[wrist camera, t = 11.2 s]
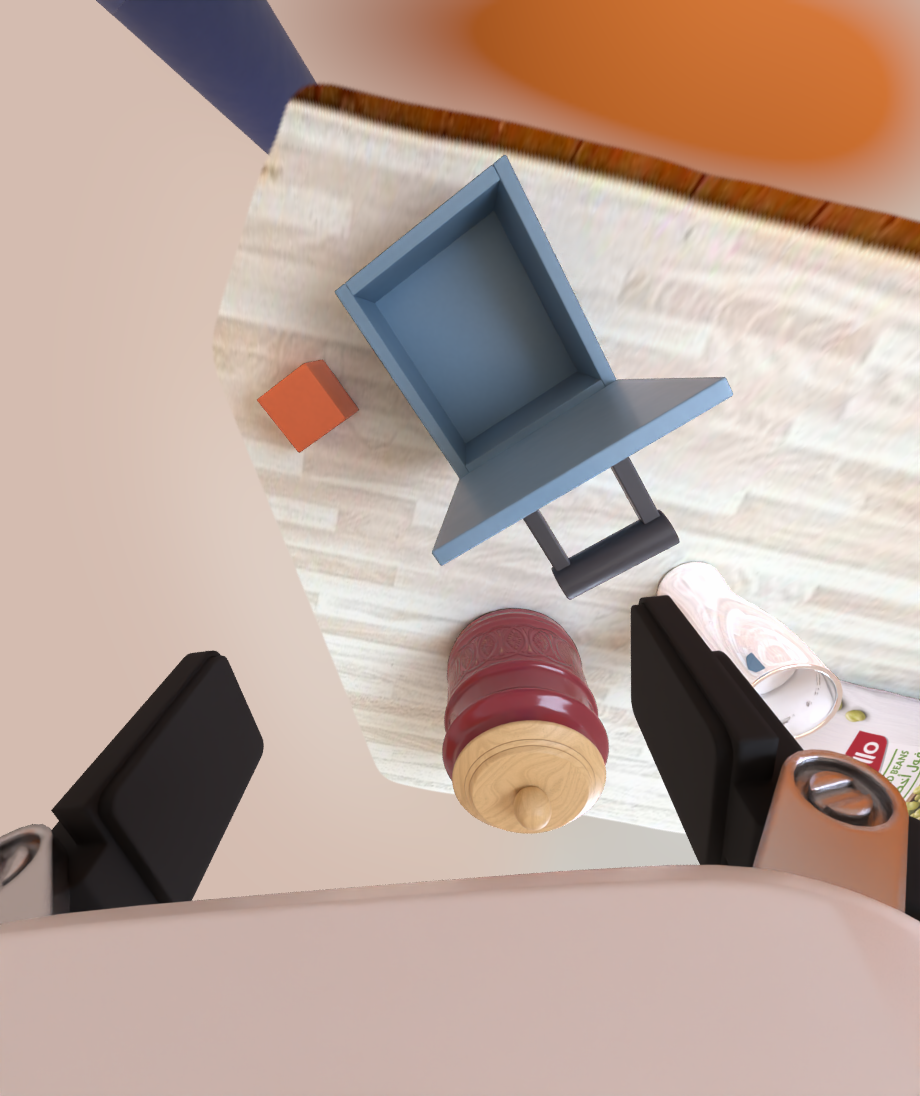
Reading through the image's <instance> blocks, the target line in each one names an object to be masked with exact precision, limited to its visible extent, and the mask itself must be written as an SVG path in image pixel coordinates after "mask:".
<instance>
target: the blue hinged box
mask: <svg viewBox="0 0 920 1096" xmlns="http://www.w3.org/2000/svg"><path fill="white" fill-rule="evenodd" d="M335 294H336V295H337V297H338V298H339V299H340V301H341V302H342V304H343V305H344V307H345V308H346V310H347V311H348V313H349V314H350V316H351V317H352V319H353V320H354V322H355V323H356V325H357V326H358V328H359V329H360V331H361V332H362V334H363V335H364V337H365V338H366V340H367V341H368V343H369V344H370V346H371V347H372V349H373V350H374V352H375V353H376V355H377V356H378V358H379V359H380V361H381V362H382V364H383V365H384V366H385V368H386V369H387V371H388V372H389V374H390V375H391V377H392V378H393V380H394V381H395V383H396V384H397V386H398V387H399V389H400V390H401V392H402V393H403V395H404V396H405V398H406V399H407V401H408V402H409V404H410V405H411V407H412V408H413V410H414V411H415V413H416V414H417V416H418V417H419V419H420V420H421V422H422V423H423V425H424V426H425V428H426V429H427V431H428V432H429V433H430V435H431V436H432V438H433V439H434V441H435V442H436V444H437V445H438V447H439V448H440V450H441V451H442V453H443V454H444V456H445V457H446V459H447V460H448V462H449V463H450V465H451V466H452V468H453V469H454V471H455V472H456V474H457V475H458V477H459V478H462V477H464V476H465V475H467V474H468V473H470V472H471V471H473V470H475V469H476V468H478V467H479V466H481V465H483V464H484V463H486V462H487V461H489V460H490V459H492V458H494V457H495V456H497V455H498V454H500V453H502V452H503V451H505V450H506V449H508V448H509V447H511V446H513V445H514V444H516V443H517V442H519V441H521V440H522V439H524V438H525V437H527V436H528V435H530V434H532V433H533V432H535V431H536V430H538V429H540V428H541V427H543V426H544V425H546V424H547V423H549V422H551V421H552V420H554V419H555V418H557V417H559V416H560V415H562V414H563V413H565V412H566V411H568V410H570V409H571V408H573V407H574V406H576V405H578V404H579V403H581V402H582V401H584V400H585V399H587V398H589V397H590V396H592V395H593V394H595V393H597V392H598V391H600V390H601V389H603V388H605V387H606V386H608V385H609V384H611V383H612V382H614V381H616V378H615V376H614V374H613V372H612V370H611V368H610V366H609V364H608V362H607V360H606V358H605V356H604V353H603V351H602V349H601V347H600V345H599V343H598V341H597V339H596V337H595V335H594V333H593V331H592V329H591V327H590V325H589V323H588V321H587V319H586V317H585V315H584V313H583V311H582V309H581V307H580V305H579V303H578V300H577V298H576V296H575V294H574V292H573V290H572V288H571V286H570V284H569V282H568V280H567V278H566V276H565V274H564V272H563V270H562V268H561V266H560V264H559V262H558V260H557V258H556V256H555V254H554V252H553V250H552V248H551V245H550V243H549V241H548V239H547V237H546V235H545V233H544V231H543V229H542V227H541V225H540V223H539V221H538V219H537V217H536V215H535V213H534V211H533V209H532V207H531V205H530V203H529V201H528V199H527V197H526V195H525V192H524V190H523V188H522V186H521V184H520V182H519V180H518V178H517V176H516V174H515V172H514V170H513V168H512V166H511V164H510V162H509V160H508V158H507V156H506V155H503V156H502V157H501V158H500V159H498V160H497V161H496V162H495V163H494V164H493V165H491V166H490V167H488V168H487V169H486V170H485V171H483V172H482V173H481V174H480V175H478V176H477V177H476V178H475V179H473V180H472V181H471V182H470V183H468V184H467V185H466V186H465V187H464V188H462V189H461V190H460V191H459V192H457V193H456V194H455V195H454V196H452V197H451V198H450V199H449V200H447V201H446V202H445V203H444V204H442V205H441V206H440V207H439V208H437V209H436V210H435V211H434V212H432V213H431V214H430V215H429V216H427V217H426V218H425V219H424V220H423V221H421V222H420V223H419V224H418V225H416V226H415V227H414V228H413V229H411V230H410V231H409V232H408V233H406V234H405V235H404V236H403V237H401V238H400V239H399V240H398V241H396V242H395V243H394V244H393V245H391V246H390V247H389V248H388V249H386V250H385V251H384V252H383V253H382V254H380V255H379V256H378V257H377V258H375V259H374V260H373V261H372V262H370V263H369V264H368V265H367V266H365V267H364V268H363V269H362V270H360V271H359V272H358V273H357V274H355V275H354V276H353V277H352V278H350V279H349V280H348V281H347V282H346V283H345V284H343V285H342V286H341V287H339V288H338V289H337V290H336V291H335Z"/></svg>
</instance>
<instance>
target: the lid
mask: <svg viewBox="0 0 920 1096" xmlns="http://www.w3.org/2000/svg"><path fill="white" fill-rule="evenodd" d="M732 395H733V392H732V390H731V388H730V386H729V383H728V381H727V379H726V378H725V377H706V378H661V379H618V380H616V381H614V382H612V383H611V384H609V385H608V386H606V387H605V388H603V389H601V390H600V391H598V392H597V393H595V394H593V395H592V396H590V397H589V398H587V399H585V400H584V401H582V402H581V403H579V404H578V405H576V406H574V407H573V408H571V409H570V410H568V411H566V412H565V413H563V414H562V415H560V416H559V417H557V418H555V419H554V420H552V421H551V422H549V423H547V424H546V425H544V426H543V427H541V428H540V429H538V430H536V431H535V432H533V433H532V434H530V435H528V436H527V437H525V438H524V439H522V440H521V441H519V442H517V443H516V444H514V445H513V446H511V447H509V448H508V449H506V450H505V451H503V452H502V453H500V454H498V455H497V456H495V457H494V458H492V459H490V460H489V461H487V462H486V463H484V464H483V465H481V466H479V467H478V468H476V469H475V470H473V471H471V472H470V473H468V474H467V475H465V476H464V477H462V478H460V479H459V482H458V484H457V487H456V490H455V492H454V495H453V497H452V500H451V503H450V505H449V508H448V511H447V513H446V516H445V519H444V521H443V524H442V527H441V529H440V532H439V534H438V537H437V540H436V542H435V545H434V548H433V550H432V554H433V555H434V557H435V558H436V560H437V561H438V562H439V564H440V565H441V566H442V565H444V564H446V563H448V562H449V561H451V560H453V559H454V558H456V557H458V556H460V555H461V554H463V553H465V552H466V551H468V550H470V549H472V548H473V547H475V546H477V545H478V544H480V543H482V542H484V541H485V540H487V539H489V538H490V537H492V536H494V535H495V534H497V533H499V532H501V531H502V530H504V529H506V528H507V527H509V526H511V525H513V524H514V523H516V522H518V521H519V520H521V519H524V521H525V522H526V524H527V526H528V527H529V529H530V530H531V532H532V534H533V535H534V537H535V538H536V540H537V542H538V543H539V545H540V547H541V548H542V550H543V551H544V553H545V555H546V556H547V558H548V559H549V561H550V563H551V564H552V566H553V567H552V572H553V574H554V576H555V578H556V580H557V582H558V584H559V586H560V587H561V589H562V591H563V592H564V594H565V595H566V597H567V598H568V599H569V600H571V599H573V598H575V597H577V596H579V595H581V594H583V593H584V592H586V591H588V590H590V589H592V588H594V587H596V586H598V585H600V584H602V583H604V582H605V581H607V580H609V579H611V578H613V577H615V576H617V575H619V574H621V573H623V572H625V571H627V570H628V569H630V568H632V567H634V566H636V565H638V564H640V563H642V562H644V561H646V560H648V559H649V558H651V557H653V556H655V555H657V554H659V553H661V552H663V551H665V550H667V549H669V548H670V547H672V546H674V545H676V544H678V543H679V538H678V536H677V534H676V532H675V530H674V528H673V526H672V525H671V523H670V522H669V520H668V519H667V517H666V516H665V515H664V514H663V513H662V512H661V511H660V510H657V509H656V507H655V505H654V503H653V501H652V499H651V498H650V496H649V494H648V492H647V490H646V488H645V486H644V485H643V483H642V481H641V479H640V477H639V475H638V473H637V471H636V470H635V468H634V466H633V464H632V462H631V460H630V458H629V456H630V455H632V454H634V453H636V452H637V451H639V450H641V449H642V448H644V447H646V446H648V445H649V444H651V443H653V442H654V441H656V440H658V439H660V438H661V437H663V436H665V435H666V434H668V433H670V432H672V431H673V430H675V429H677V428H678V427H680V426H682V425H683V424H685V423H687V422H689V421H690V420H692V419H694V418H695V417H697V416H699V415H701V414H702V413H704V412H706V411H707V410H709V409H711V408H713V407H714V406H716V405H718V404H719V403H721V402H723V401H725V400H726V399H728V398H730V397H731V396H732ZM610 467H611V469H612V471H613V473H614V475H615V476H616V478H617V480H618V482H619V484H620V485H621V487H622V489H623V491H624V493H625V495H626V496H627V498H628V500H629V502H630V504H631V505H632V507H633V509H634V511H635V513H636V515H637V516H638V518H639V520H638V521H636V522H634V523H632V524H630V525H628V526H627V527H625V528H623V529H621V530H619V531H618V532H616V533H614V534H612V535H610V536H608V537H607V538H605V539H603V540H601V541H599V542H597V543H596V544H594V545H592V546H590V547H588V548H586V549H585V550H583V551H581V552H579V553H577V554H576V555H574V556H572V557H570V558H568V557H567V555H566V553H565V552H564V550H563V549H562V547H561V545H560V544H559V542H558V540H557V539H556V537H555V535H554V534H553V532H552V530H551V529H550V527H549V526H548V524H547V522H546V521H545V519H544V517H543V516H542V514H541V512H540V511H539V509H540V508H542V507H543V506H545V505H547V504H548V503H550V502H552V501H554V500H555V499H557V498H559V497H560V496H562V495H564V494H566V493H567V492H569V491H571V490H572V489H574V488H576V487H578V486H579V485H581V484H583V483H584V482H586V481H588V480H589V479H591V478H593V477H595V476H596V475H598V474H600V473H601V472H603V471H605V470H607V469H608V468H610Z"/></svg>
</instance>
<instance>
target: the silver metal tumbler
mask: <svg viewBox="0 0 920 1096" xmlns="http://www.w3.org/2000/svg"><path fill="white" fill-rule="evenodd" d="M661 595H668V596H670V597H671V599H672V600H673V601H674V603H675V604H676V605H677V606H678V608H679V609H680V610H681V612H682V613H683V614H684V616H685V617H686V618H687V619H688V621H689V622H690V623H691V625H692V626H693V627H694V629H695V630H696V631H697V632H698V634H699V635H700V636H701V638H702V639H703V640H704V642H705V643H706V644H707V645H708V647H709V648H710V649H711V651H718V650H719V651H722V652H724V653H725V654H726V655H727V656H728V657H729V658H730V659H731V660H732V662H733V663H734V664H735V665H736V667H737V668H738V669H739V670H740V672H741V673H742V674H743V675H744V677H745V678H746V679H747V680H748V681H749V683H750V684H751V685H752V686H753V688H754V689H755V690H756V691H757V693H758V694H759V695H760V696H761V698H762V699H763V700H764V701H765V703H766V704H767V705H768V706H769V707H770V709H771V710H772V711H773V712H774V714H775V715H776V716H777V717H778V719H779V720H780V721H781V722H782V724H783V725H784V726H785V727H786V729H787V730H788V731H789V732H790V733H791V735H792V736H793V737H794V738H795V740H797V739H800V738H803V737H806V736H808V735H810V734H812V733H814V732H816V731H817V730H819V729H820V728H822V727H823V726H824V725H826V724H827V723H828V722H829V721H830V720H831V719H832V718H833V716H834V715H835V714H836V712H837V711H838V709H839V707H840V705H841V702H842V696H843V690H842V685H841V683H840V681H839V679H838V678H837V676H836V675H835V674H834V673H832V672H831V671H830V670H829V669H828V668H827V667H826V665H825V664H824V663H823V662H822V661H821V660H820V659H819V657H818V656H817V655H816V654H815V653H814V652H813V651H812V650H811V649H810V648H809V647H808V646H807V645H806V644H805V643H804V642H803V641H802V640H801V639H800V638H799V637H798V636H797V635H796V634H795V633H794V632H793V631H792V630H790V629H789V628H788V627H787V626H786V625H784V624H783V623H782V622H781V621H779V620H778V619H776V618H775V617H773V616H772V615H770V614H769V613H767V612H766V611H764V610H762V609H761V608H759V607H757V606H756V605H754V604H752V603H751V602H749V601H747V600H745V599H744V598H742V597H740V596H739V595H737V594H736V593H734V592H733V591H732V590H731V589H730V587H729V586H728V584H727V582H726V581H725V579H724V577H723V576H722V574H721V573H720V572H719V571H718V570H717V569H716V568H715V567H713V566H711V565H709V564H707V563H703V562H689V563H685V564H682V565H680V566H677V567H676V568H674V569H672V570H671V571H670V572H668V573H667V574H666V575H665V577H664V578H663V579H662V581H661V582H660V584H659V587H658V590H657V596H661Z"/></svg>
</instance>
